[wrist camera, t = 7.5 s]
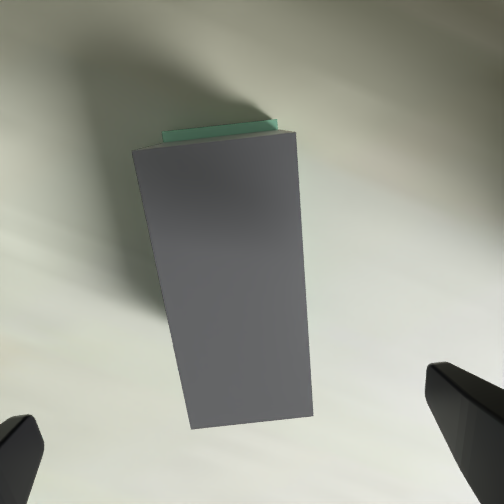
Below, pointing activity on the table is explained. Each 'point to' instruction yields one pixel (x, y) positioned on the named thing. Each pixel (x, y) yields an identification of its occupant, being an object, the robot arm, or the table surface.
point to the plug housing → (231, 273)
